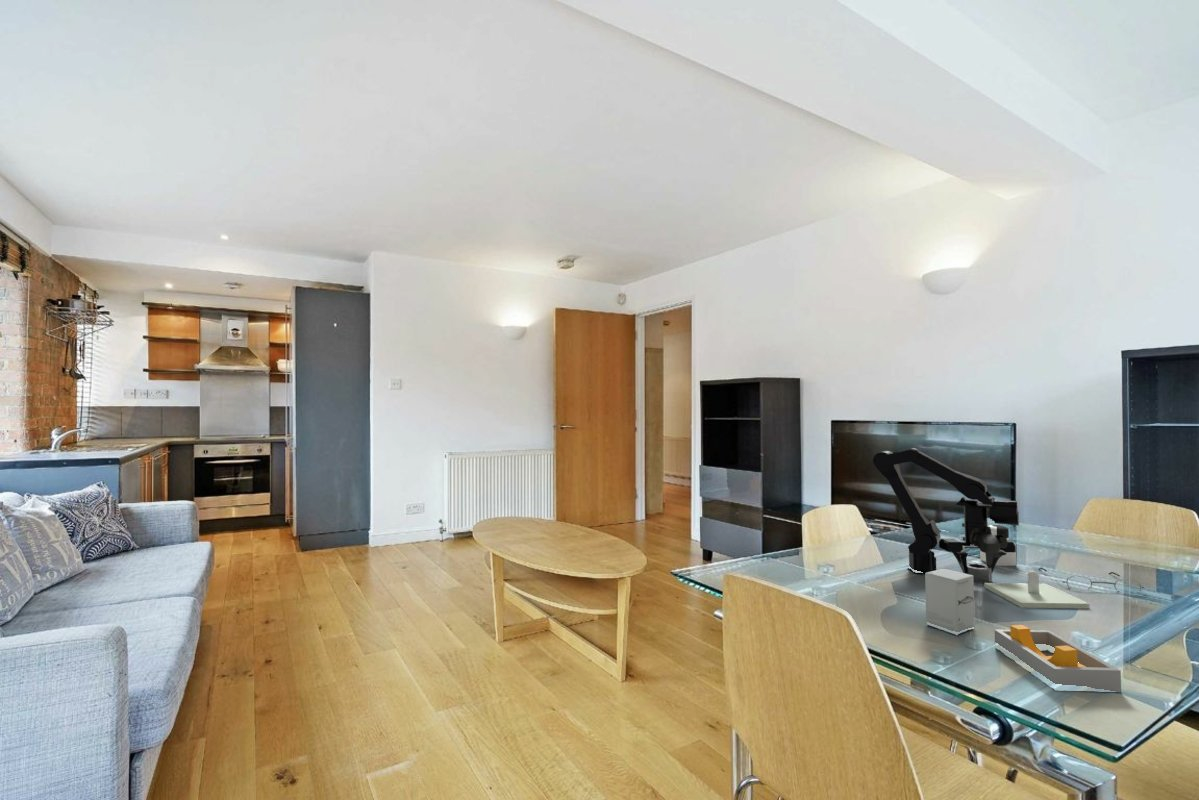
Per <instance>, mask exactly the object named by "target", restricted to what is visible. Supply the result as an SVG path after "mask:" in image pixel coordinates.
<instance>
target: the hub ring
mask: <svg viewBox="0 0 1199 800" xmlns="http://www.w3.org/2000/svg"><path fill="white" fill-rule="evenodd" d="M967 574H969V575H973V579H974V583H977V584H984V583H992V581H993V572H992V567H990V566H987V565H986V564H983V563H977V562H967Z"/></svg>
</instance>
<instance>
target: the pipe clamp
mask: <svg viewBox="0 0 1199 800" xmlns="http://www.w3.org/2000/svg"><path fill="white" fill-rule="evenodd" d="M1009 627H1010V629H1009V630H1010V632H1011V637H1012V638H1013V639H1015V640H1016V641H1018V642H1019V643H1021V644H1023V645H1024V646H1026V647H1027V648H1029V649H1030V650H1032V651H1033V652H1035V653H1036V654H1038V655H1039V656H1041V657H1043V658H1044V659H1046V660H1047V661H1049V662H1050V663H1052V664H1053V665H1055V666H1056V667H1086V666H1084V665H1082V664H1080V663H1078V661H1077V650H1076V649H1074V648H1072V647H1070V646H1067V645H1066V646H1055V651H1054V654H1052V655H1046V654H1045V653H1043V651H1040V650H1039V649H1038V648H1037V647H1036V645H1035V643H1034V641H1033V639H1032V637H1031V633H1030V630H1031V628H1030V627H1027V626H1025V625H1023V624H1014V625H1013V624H1012V625H1009Z"/></svg>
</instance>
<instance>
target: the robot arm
mask: <svg viewBox="0 0 1199 800" xmlns="http://www.w3.org/2000/svg"><path fill="white" fill-rule="evenodd" d="M910 462H911V463H914V464H915V465H918V466H919V467H920V468H922V469H924V470H926V471H928V472H930V473H932V474H933V475H935V476H937V477H939V478H940V479H942V480H944V481H946V482H947V483H949V484H950V485H952V487H954V488H955V489H956V491H958V493H960V494H962V495H963V496H962V497H961V498H960V499H959V500H958V501H957V502H955V505H956V506H957V507H958V506H959V507H960V506H962V507H963V522H962V523H961V527H964V536H962V537H961V538H962V541H959V540H957V539H955V538H941V533H942V531H941V529H939V528H938V526H937V524H936V521H935V520H934V519H932V520H929V519H928V518H926V516H925V515H924V514H923V511H922V509H921V508H920V506H919V504H918V502H917V501H916V499H915V497H914V496H913V494H912V492H911V490H910V489H909V486H908V485H907V483H906V481H905V479H904V478H903V476H902V473H901V468H900V464H904V463H910ZM872 465H873V466H874V467H875V469H876V470H877V471H878V472H879V473H880V475H882V477H883V478H884V479H885V480H887V482H888V483H889V485H890V486H891V488H892V491H893V492H894V495H895V496H896V498H897V500H898V502H899V503H900V505H901V507H902V509H903V510H904V513H905V514H906V515H907V518H908V519H909V522H910V524H911V529H912V534H913V536H914V540H913V541H912V542H911V543H910V544H909V545H908V547H907V548H908V566H910V567H911V568H912V569H914V570H917V571H921V572H923V573H927V572H931V571H935V570H937V557H936V556H935V552H934V551H932V550H933V549H934V548H936V547H937V545H938V548H940V549H941V550H944V551H946V552H948V553H952V554H953V556H954V558H955V559H956V560H957V563H958V565H959V567H960V569H961V571H962V573H965V574H967V563H968V562H967V561H968V560H967V559H968V558H967V557H968V555H969V553H968V552H966V549H979V551H980V550H981V551H982V552H984V553H985V554H986V562H985V563H986V564H985V565H987V566H990V567H992V573H993V572H994V569H995V567H996V566H995V565H996V563H997V561H998V559H999V558H1000V557H1001V556H1003V555H1006V554H1007V553H1005V552H1016V553H1017V545H1016V546H1015V544H1016V543H1015V544H1014V541H1011V540H1010V539H1009V540H1007V537H1006V536H1005V535H992V533H991V529H990V527H989V525H988V524H989V523H988V510H989V520H991V521H992V522H993V521H994V524H996V525H1009V526H1010V525H1011V526H1020V512H1019V508H1018V501H1017V500H997V499H996V498H994V496H993V495H992V494H991V493H990V492H989V491H988V486H987V484H986V482H985V481H984V480H983V479H981V478H978V477H976V476H972V475H970V474H967V473H963V472H960V471H958V470H955V469H953V468H952V467H950V466H948V465H947V464H945V463H943V462H941V461H939V460H937V459H935V458H934V457H932V456H929V455H928V454H926V453H924V452H922V451H921V450H920V449H918V448H914V447H913V448H909V449H907V450H906V449H905V450H900V451H894V452H892V451H890V450H883V451H880V452H877V453H876V454H874V455H873V458H872ZM965 497H966V498H967V499H966V498H965ZM979 502H980V503H979Z"/></svg>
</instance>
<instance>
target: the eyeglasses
mask: <svg viewBox="0 0 1199 800" xmlns="http://www.w3.org/2000/svg"><path fill="white" fill-rule="evenodd" d="M1038 570H1039V571H1040V570H1043V571H1044V572H1047V573H1048V574H1050V575H1052V576H1053V577H1055V578H1056V579H1058V580H1059V581H1061V582H1062V583H1063V584H1065V583H1066V586H1067V587H1068V588H1069V589H1071V587H1070V586H1069V584H1068V583H1069V582H1068V581H1069V580H1070V578H1074V575H1071V576H1068V577H1067V578H1066V581H1065V580H1063V579H1060V578H1059V577H1057V576H1056V575H1054V574H1052V573H1051V572H1049V571H1048V570H1046V569H1045V568H1043V567H1039V568H1038ZM1109 574H1110V575H1112V574H1113V575H1115V576H1117V577H1120V579H1117V580H1115V581H1114V582H1112V581H1111V582H1110V581H1098V580H1097V581H1095V580H1093V581H1092V580H1091V578H1088V577H1086V576H1082V575H1079V577H1080V578H1081V577H1082V578H1086V579H1088V580H1089V582H1090V586H1089V587H1088V588H1087V590H1090V589H1091V588H1092V587H1093V584H1104V585H1105V584H1106V585H1113V587H1114V589H1115V590H1116V591H1117V590H1118V588H1117V587H1116V585H1117V583H1118V582H1119V581H1122V580H1123V581H1124V580H1125V581H1126V580H1127V581H1129V582H1131V583H1132V584H1134V585H1137V586H1139V590H1138V591H1140V592H1141V591H1142V589H1145V588H1146V587H1145V586H1142V585H1141V582H1139V581H1136V580H1135V579H1131V578H1130V579H1129V578H1125V577H1123V576H1121V575H1119V574H1118V573H1117V572H1114V571H1111V572H1109V573H1108V575H1109ZM1133 581H1134V582H1133ZM1135 582H1136V583H1135Z"/></svg>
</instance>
